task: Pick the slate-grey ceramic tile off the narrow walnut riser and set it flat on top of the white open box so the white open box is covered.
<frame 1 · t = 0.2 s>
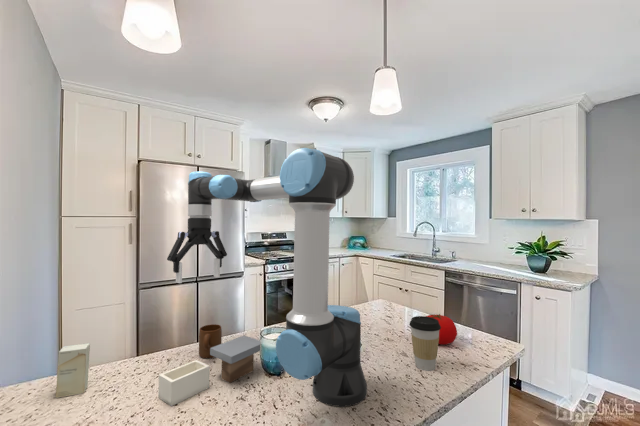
hand: (198, 279, 103), 27 cm above the worktop, fingers open, 13 cm apart
riser: (237, 374, 93), on the worktop
tomato: (438, 342, 119), on the worktop
mug: (208, 357, 105), on the worktop
white open box: (184, 392, 83), on the worktop
skincare box: (72, 392, 83), on the worktop
tile lid: (238, 351, 93), point 7 cm above the worktop, touching riser
coffee cup: (425, 366, 99), on the worktop
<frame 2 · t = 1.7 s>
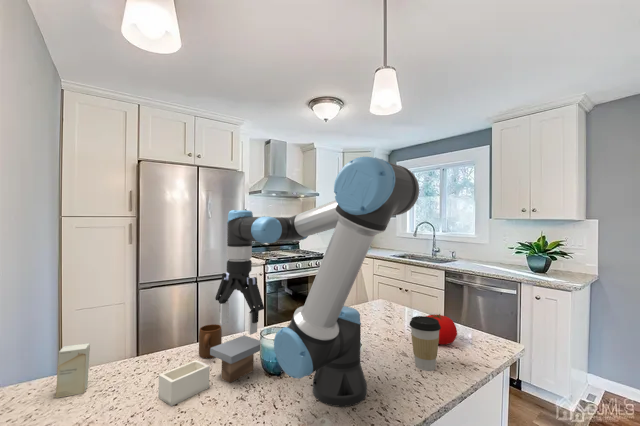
hand: (237, 328, 93), 14 cm above the worktop, fingers open, 13 cm apart
nothing on the worktop moved.
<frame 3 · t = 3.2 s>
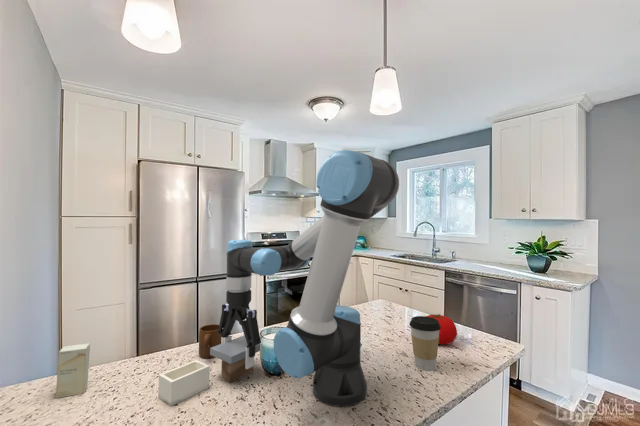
hand: (238, 362, 93), 4 cm above the worktop, fingers closed on tile lid, 10 cm apart
tile lid: (238, 351, 93), point 7 cm above the worktop, touching gripper, riser
everything else where it was.
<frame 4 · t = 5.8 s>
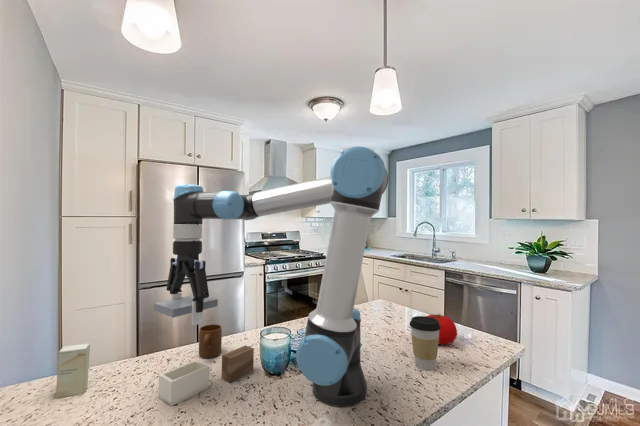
hand: (186, 320, 84), 20 cm above the worktop, fingers closed on tile lid, 10 cm apart
tile lid: (186, 308, 84), point 23 cm above the worktop, touching gripper
everything else where it was.
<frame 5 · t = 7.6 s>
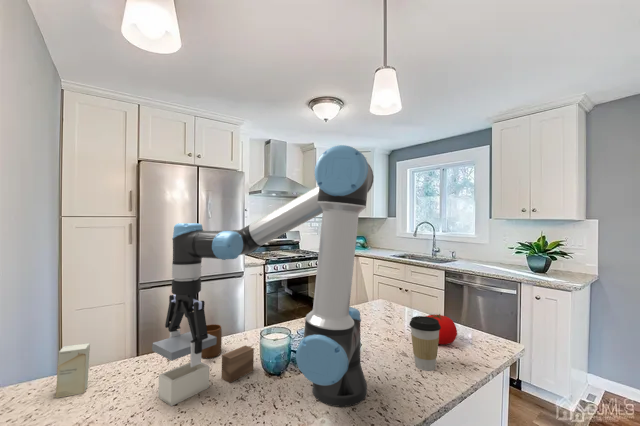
hand: (184, 359, 83), 9 cm above the worktop, fingers closed on tile lid, 10 cm apart
tile lid: (185, 347, 83), point 12 cm above the worktop, touching gripper
everything else where it was.
when the fingers open (6 cm above the worktop, at t = 8.9 s): tile lid drops 3 cm, resting on white open box.
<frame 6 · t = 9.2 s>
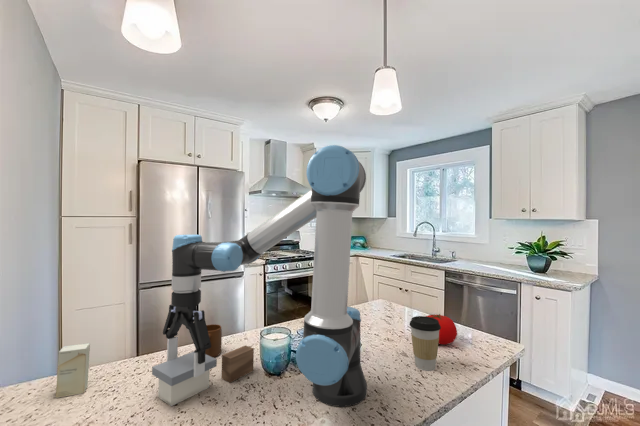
hand: (185, 367, 83), 7 cm above the worktop, fingers open, 13 cm apart
tile lid: (185, 370, 83), point 6 cm above the worktop, touching white open box
everything else where it was.
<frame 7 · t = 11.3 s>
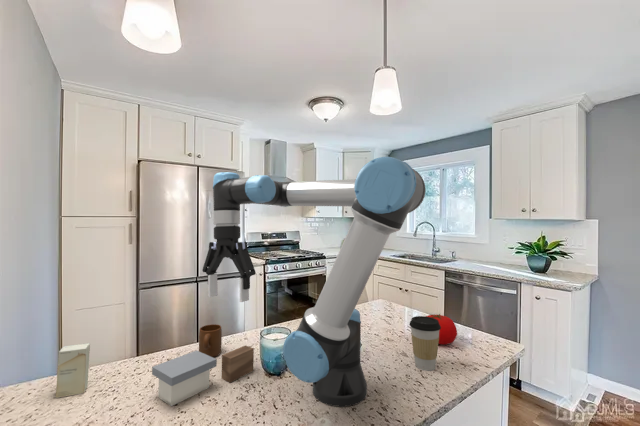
hand: (228, 298, 88), 25 cm above the worktop, fingers open, 13 cm apart
nothing on the worktop moved.
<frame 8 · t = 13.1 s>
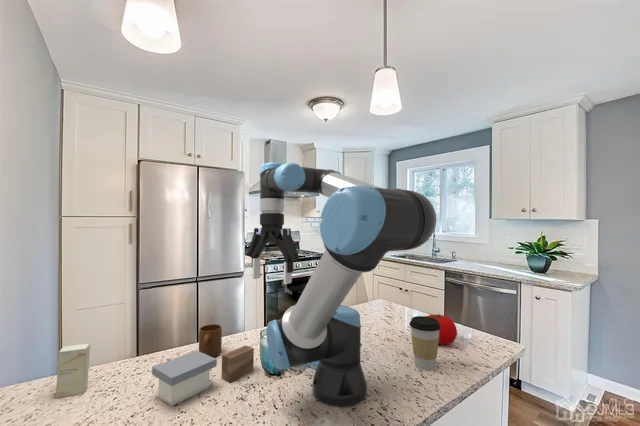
hand: (271, 280, 94), 29 cm above the worktop, fingers open, 13 cm apart
nothing on the worktop moved.
at the end: tile lid inside the target area on the white open box (0.0 cm from its centre), point 6.0 cm above the white open box's base; tile lid tilted 0°; the gripper is holding nothing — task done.
